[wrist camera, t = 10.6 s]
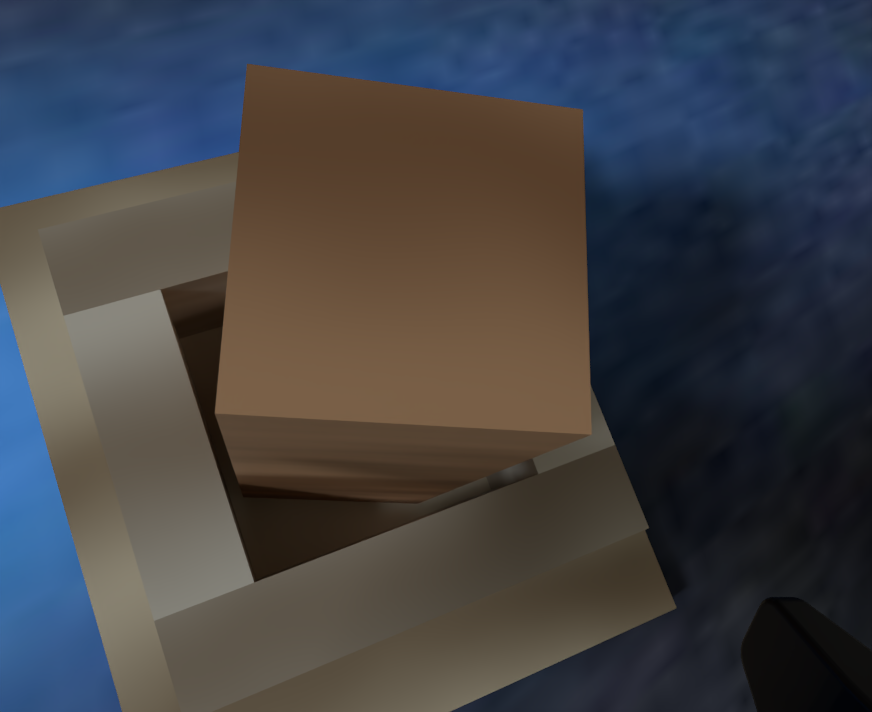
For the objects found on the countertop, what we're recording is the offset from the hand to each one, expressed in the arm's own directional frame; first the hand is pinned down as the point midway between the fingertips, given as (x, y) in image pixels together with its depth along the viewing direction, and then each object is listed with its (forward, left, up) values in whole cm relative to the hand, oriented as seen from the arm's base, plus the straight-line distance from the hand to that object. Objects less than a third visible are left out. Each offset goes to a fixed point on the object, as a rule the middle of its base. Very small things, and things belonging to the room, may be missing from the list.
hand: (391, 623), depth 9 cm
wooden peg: (+4, -2, -12) cm, 13 cm away
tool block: (+4, -2, -13) cm, 14 cm away
